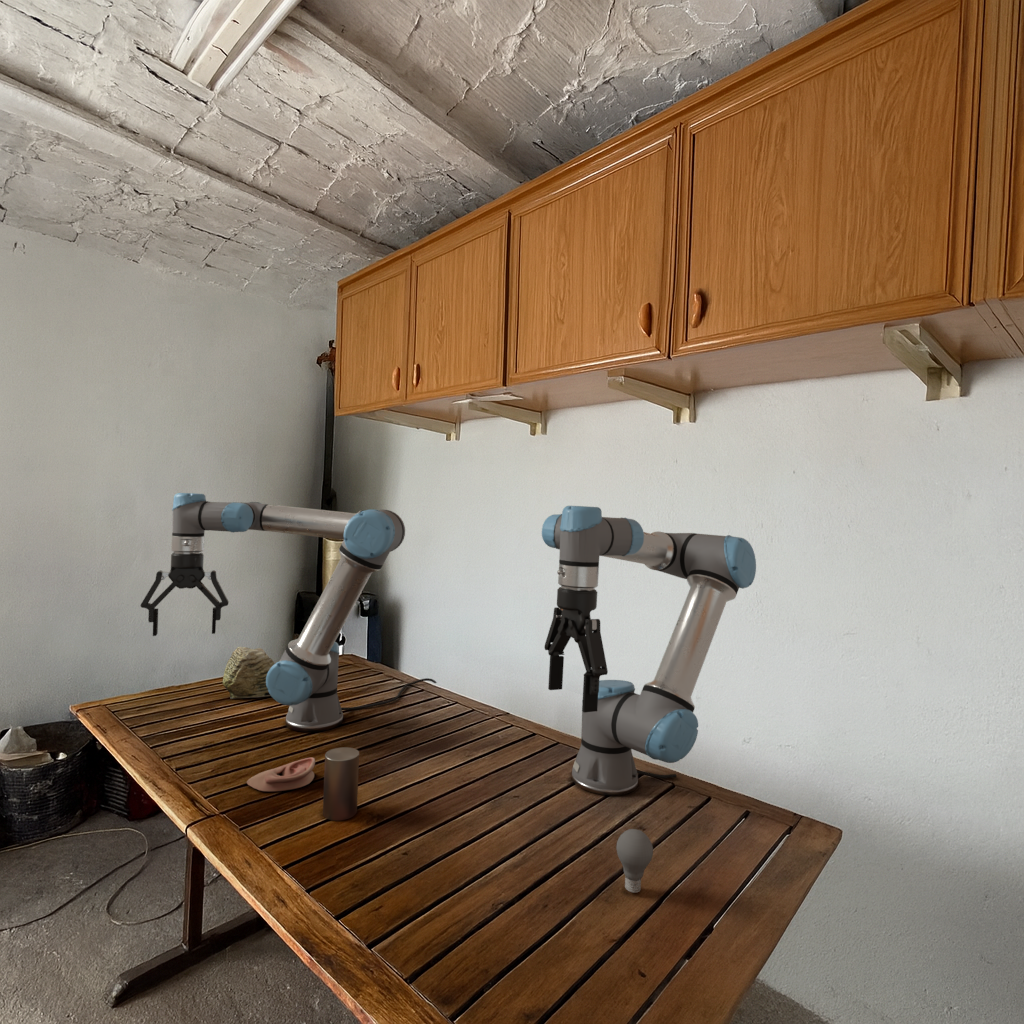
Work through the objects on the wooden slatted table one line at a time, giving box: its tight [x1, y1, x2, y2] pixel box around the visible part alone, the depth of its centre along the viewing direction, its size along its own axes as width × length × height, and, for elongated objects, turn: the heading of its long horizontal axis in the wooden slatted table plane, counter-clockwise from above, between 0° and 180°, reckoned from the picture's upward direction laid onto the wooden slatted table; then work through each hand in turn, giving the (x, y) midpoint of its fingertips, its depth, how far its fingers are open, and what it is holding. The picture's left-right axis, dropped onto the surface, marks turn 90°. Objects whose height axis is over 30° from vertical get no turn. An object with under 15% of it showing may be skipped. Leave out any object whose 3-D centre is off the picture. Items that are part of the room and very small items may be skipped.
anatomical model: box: [246, 757, 316, 792], centre depth 140 cm, size 13×4×12 cm
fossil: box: [222, 646, 276, 699], centre depth 198 cm, size 9×18×15 cm, turn 132°
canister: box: [322, 746, 360, 822], centre depth 127 cm, size 7×7×12 cm
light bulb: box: [615, 828, 654, 894], centre depth 106 cm, size 6×6×10 cm
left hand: (184, 633), depth 165 cm, fingers open, 13 cm apart
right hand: (571, 699), depth 120 cm, fingers open, 13 cm apart
